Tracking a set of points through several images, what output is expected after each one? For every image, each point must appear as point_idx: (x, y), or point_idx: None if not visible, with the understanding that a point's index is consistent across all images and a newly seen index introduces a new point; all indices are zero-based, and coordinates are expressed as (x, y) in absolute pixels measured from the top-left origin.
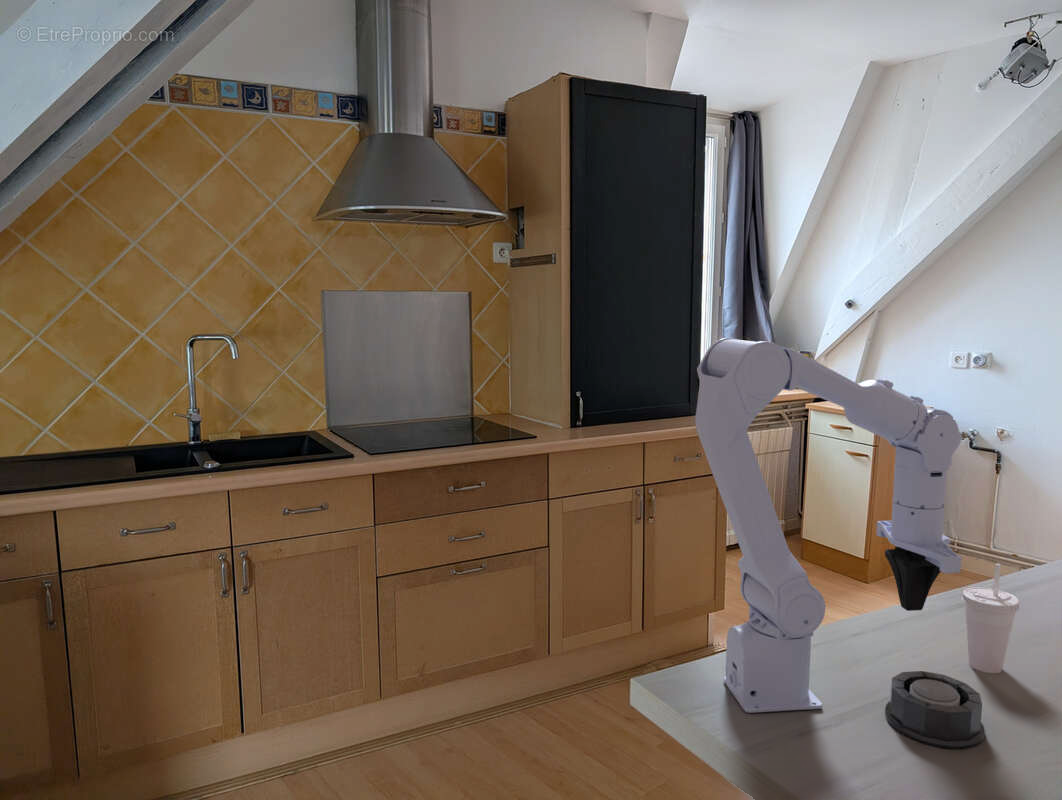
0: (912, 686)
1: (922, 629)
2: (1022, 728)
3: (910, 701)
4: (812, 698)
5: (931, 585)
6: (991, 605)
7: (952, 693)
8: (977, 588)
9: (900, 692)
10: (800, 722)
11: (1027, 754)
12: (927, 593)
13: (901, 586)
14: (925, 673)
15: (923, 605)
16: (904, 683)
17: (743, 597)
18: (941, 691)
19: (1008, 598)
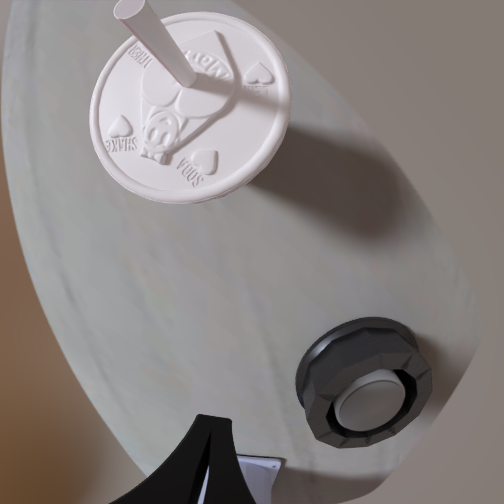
0: (351, 429)
1: (65, 155)
2: (416, 260)
3: (375, 442)
4: (264, 464)
5: (246, 483)
6: (262, 165)
7: (394, 392)
8: (101, 95)
9: (353, 445)
10: (294, 476)
11: (451, 305)
12: (236, 458)
13: (198, 499)
14: (326, 394)
15: (230, 427)
16: (329, 425)
17: None
18: (381, 403)
19: (224, 47)
